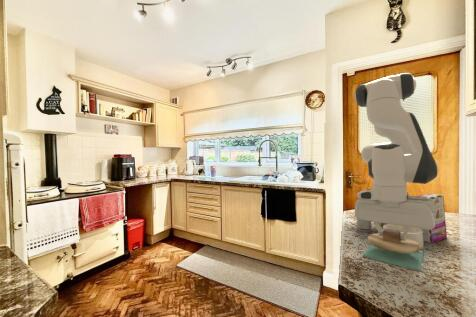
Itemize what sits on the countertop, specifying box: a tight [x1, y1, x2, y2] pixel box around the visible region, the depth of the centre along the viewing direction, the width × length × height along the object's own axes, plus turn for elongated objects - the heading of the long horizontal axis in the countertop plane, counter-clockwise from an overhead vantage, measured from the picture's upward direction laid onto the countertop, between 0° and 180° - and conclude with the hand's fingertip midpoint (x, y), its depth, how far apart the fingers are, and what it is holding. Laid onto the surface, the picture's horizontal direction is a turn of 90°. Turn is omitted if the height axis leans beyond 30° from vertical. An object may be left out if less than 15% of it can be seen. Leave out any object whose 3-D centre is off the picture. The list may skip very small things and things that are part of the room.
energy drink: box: [356, 218, 373, 233], centre depth 89 cm, size 5×5×12 cm
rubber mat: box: [362, 244, 424, 272], centre depth 65 cm, size 14×14×1 cm
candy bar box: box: [417, 193, 448, 244], centre depth 77 cm, size 11×5×16 cm, turn 114°
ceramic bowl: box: [382, 224, 425, 251], centre depth 73 cm, size 11×11×6 cm
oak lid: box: [367, 228, 421, 253], centre depth 65 cm, size 13×13×4 cm
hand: (392, 237), depth 65 cm, fingers closed on oak lid, 4 cm apart
